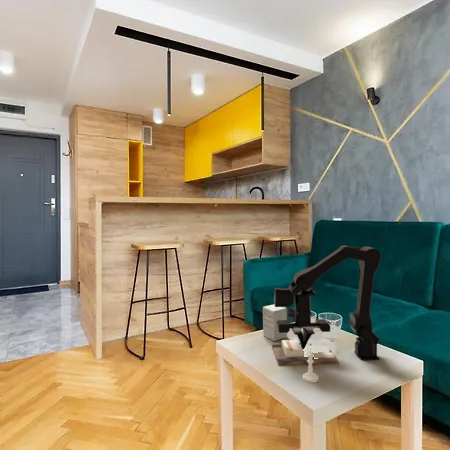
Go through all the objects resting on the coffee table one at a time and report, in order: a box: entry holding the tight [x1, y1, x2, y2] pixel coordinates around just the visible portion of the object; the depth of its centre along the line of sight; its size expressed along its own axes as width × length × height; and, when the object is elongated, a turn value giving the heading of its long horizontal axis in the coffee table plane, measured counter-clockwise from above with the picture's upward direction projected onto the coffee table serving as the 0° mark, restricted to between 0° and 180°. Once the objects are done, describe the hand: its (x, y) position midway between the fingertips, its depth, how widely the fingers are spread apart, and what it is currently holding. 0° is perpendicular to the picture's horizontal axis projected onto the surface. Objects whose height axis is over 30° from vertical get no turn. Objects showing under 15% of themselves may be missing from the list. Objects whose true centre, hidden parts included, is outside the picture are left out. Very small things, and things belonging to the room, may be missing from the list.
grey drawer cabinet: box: [262, 303, 288, 342], centre depth 139 cm, size 7×7×13 cm
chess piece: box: [302, 347, 319, 383], centre depth 105 cm, size 5×5×10 cm
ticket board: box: [271, 342, 339, 366], centre depth 122 cm, size 21×14×2 cm, turn 91°
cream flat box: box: [281, 339, 304, 357], centre depth 122 cm, size 6×10×2 cm, turn 1°
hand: (302, 348), depth 122 cm, fingers closed
